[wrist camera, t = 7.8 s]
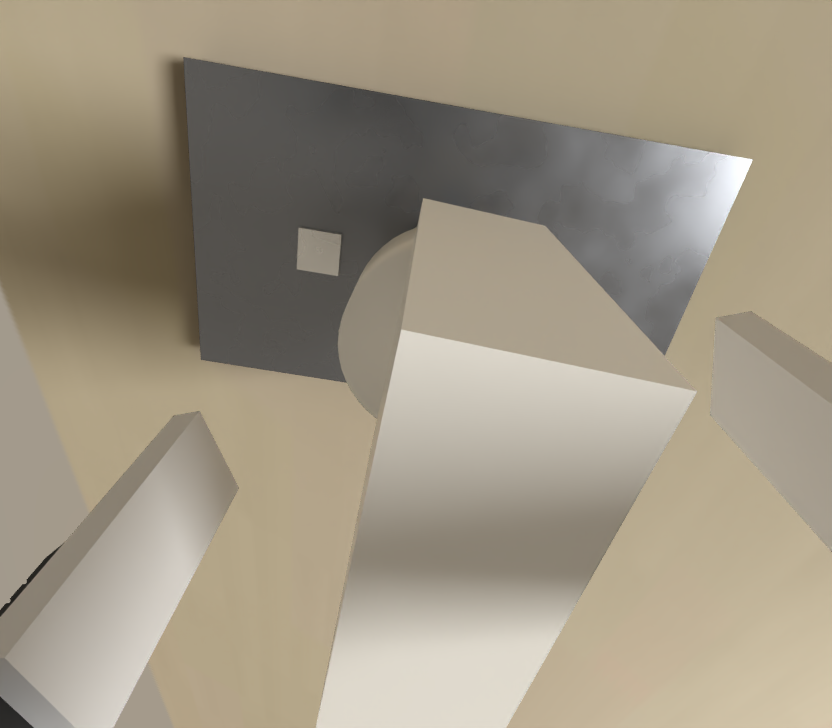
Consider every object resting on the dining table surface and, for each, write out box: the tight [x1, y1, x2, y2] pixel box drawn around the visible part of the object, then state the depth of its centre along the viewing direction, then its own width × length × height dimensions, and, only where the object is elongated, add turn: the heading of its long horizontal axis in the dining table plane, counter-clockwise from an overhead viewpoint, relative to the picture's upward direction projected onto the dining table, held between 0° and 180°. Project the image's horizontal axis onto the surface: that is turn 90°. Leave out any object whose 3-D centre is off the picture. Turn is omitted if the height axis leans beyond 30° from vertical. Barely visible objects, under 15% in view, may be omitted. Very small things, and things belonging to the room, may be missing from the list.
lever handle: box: [316, 198, 697, 728], centre depth 13 cm, size 10×7×12 cm
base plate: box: [183, 57, 752, 383], centre depth 22 cm, size 14×24×7 cm, turn 81°
